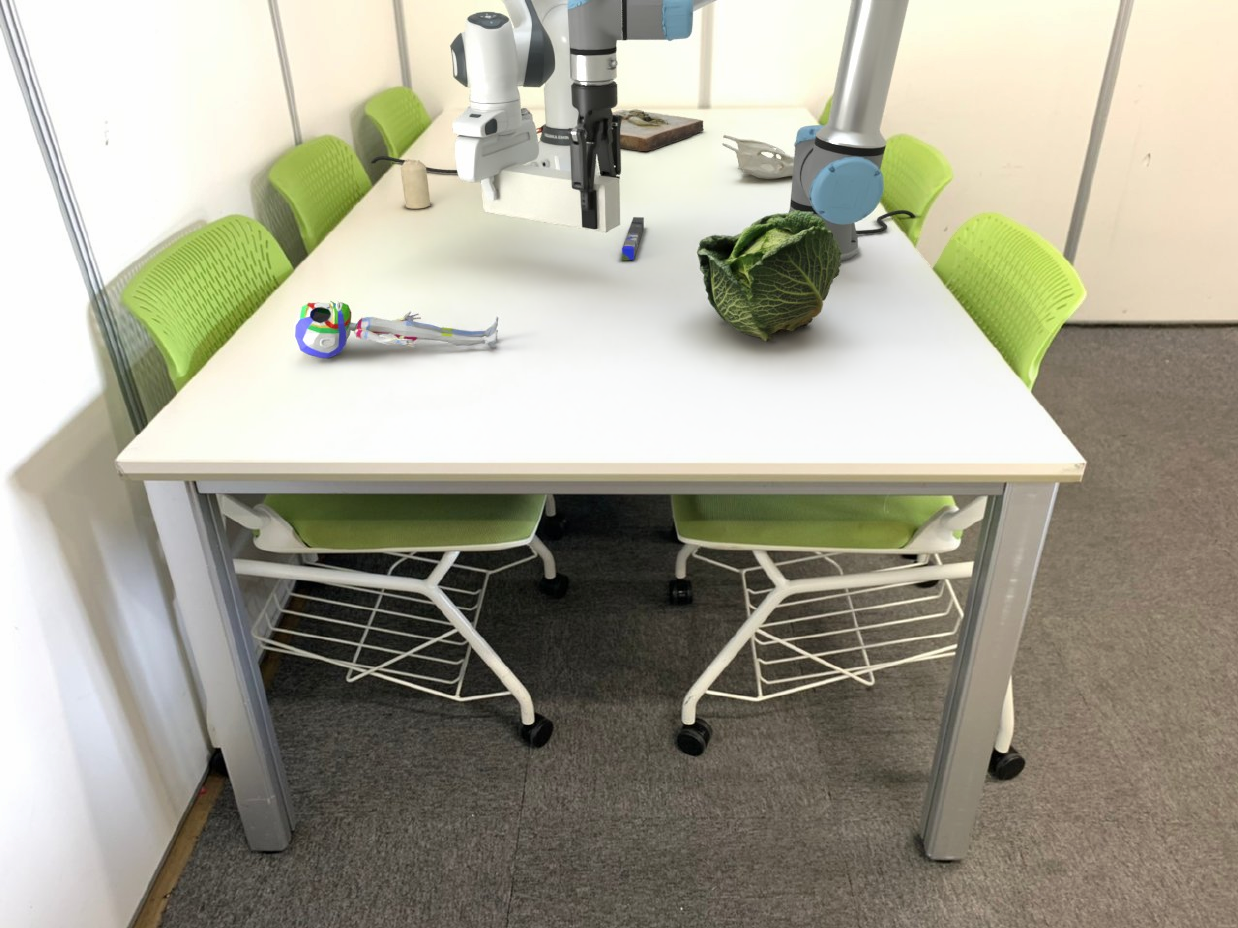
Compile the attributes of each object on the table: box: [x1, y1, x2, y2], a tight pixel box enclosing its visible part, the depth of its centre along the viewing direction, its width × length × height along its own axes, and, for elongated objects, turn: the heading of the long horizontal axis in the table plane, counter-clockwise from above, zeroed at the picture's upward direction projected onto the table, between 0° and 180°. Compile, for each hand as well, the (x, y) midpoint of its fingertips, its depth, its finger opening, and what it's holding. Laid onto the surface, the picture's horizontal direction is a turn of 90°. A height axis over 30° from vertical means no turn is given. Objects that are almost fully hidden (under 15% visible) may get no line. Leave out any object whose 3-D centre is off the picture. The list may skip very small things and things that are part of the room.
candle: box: [399, 158, 431, 210], centre depth 200 cm, size 6×6×10 cm
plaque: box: [612, 108, 705, 152], centre depth 257 cm, size 30×7×30 cm
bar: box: [480, 164, 621, 233], centre depth 160 cm, size 26×5×8 cm, turn 59°
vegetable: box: [696, 210, 842, 342], centre depth 138 cm, size 20×19×20 cm
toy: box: [293, 300, 499, 359], centre depth 136 cm, size 10×8×30 cm
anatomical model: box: [721, 134, 794, 180], centre depth 217 cm, size 15×9×25 cm
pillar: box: [621, 216, 645, 261], centre depth 178 cm, size 2×2×20 cm
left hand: (503, 195), depth 165 cm, fingers closed on bar, 5 cm apart
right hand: (598, 223), depth 157 cm, fingers closed on bar, 5 cm apart
